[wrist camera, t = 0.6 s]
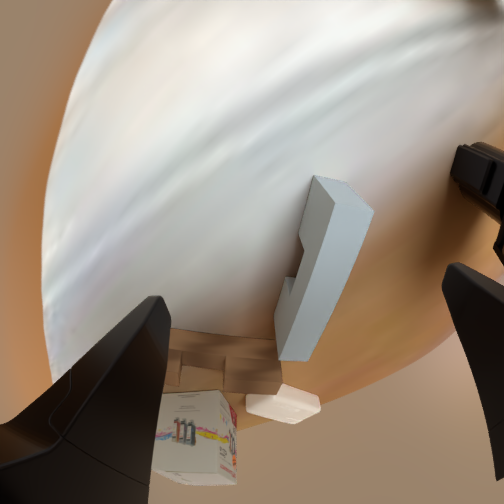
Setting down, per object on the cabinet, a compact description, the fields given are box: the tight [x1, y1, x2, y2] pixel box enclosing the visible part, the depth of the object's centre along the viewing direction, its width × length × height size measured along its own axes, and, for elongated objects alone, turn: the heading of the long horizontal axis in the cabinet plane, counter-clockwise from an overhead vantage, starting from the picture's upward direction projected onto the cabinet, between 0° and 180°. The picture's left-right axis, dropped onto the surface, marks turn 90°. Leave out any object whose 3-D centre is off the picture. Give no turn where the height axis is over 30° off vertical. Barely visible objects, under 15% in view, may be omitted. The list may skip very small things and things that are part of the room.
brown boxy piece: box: [164, 328, 283, 395], centre depth 24 cm, size 14×2×5 cm, turn 80°
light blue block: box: [274, 175, 374, 361], centre depth 19 cm, size 2×13×5 cm, turn 170°
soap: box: [246, 383, 321, 424], centre depth 32 cm, size 9×6×3 cm, turn 51°
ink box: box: [151, 390, 237, 486], centre depth 29 cm, size 9×9×12 cm
